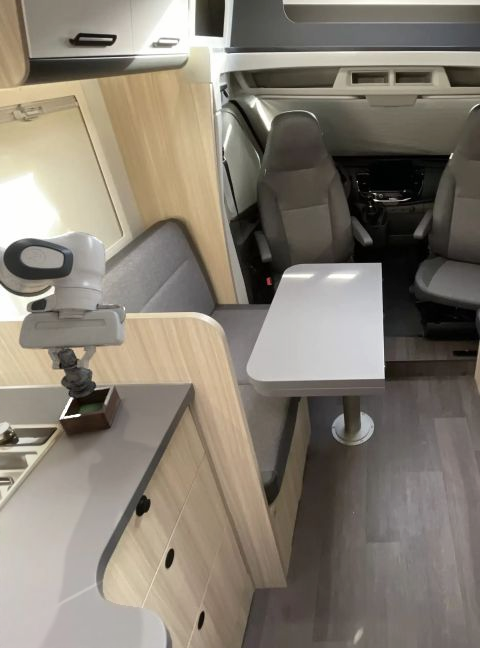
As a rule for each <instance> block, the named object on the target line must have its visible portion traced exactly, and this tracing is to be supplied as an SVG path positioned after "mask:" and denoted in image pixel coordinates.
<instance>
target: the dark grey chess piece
mask: <svg viewBox="0 0 480 648" xmlns="http://www.w3.org/2000/svg"><path fill="white" fill-rule="evenodd" d="M61 349H62V350H61V351H59V352H58V355H57V356H58V358H59V360H60V362H61V366H60V367H61V370H63V372H64V373H65V375H64V376H63V377H62V378H61V380H60V384H61V386H62V387H64V388H65V389H67V390H68V397H69V398H70V397H71V398H81V397H84V396H86V395H88V394H90V393H91V392H93V391H94V389H95V388H97V384H96V382H95V381H93V371H92V369H90V368H81V369H80V368H77V360H81V359H80V358H78V357H77V355H76V353H75V351H74V349H73V348H65V347H62V348H61Z"/></svg>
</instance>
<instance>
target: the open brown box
mask: <svg viewBox="0 0 480 648" xmlns="http://www.w3.org/2000/svg"><path fill="white" fill-rule="evenodd" d="M121 400H122V399H121V396H120V394H119V393H118V390H117V387H116V385H115V384H114V385H108V386H101V387H96V388H95V389H94V391H93V392H91V393H90V394H88V395H86V396H84V397H81V398H71V397H70V396H69V398H68V401H67V403H66V405H65V406H64V409H63V411H62V413H61V414H60V417H59V419H58V421H59V423H60V425H61V427H62V428H63V430H64V433H65V434H66V435H67V436H71V435H76V434H82V433H87V432H94V431H99V430H105V429H110V428H112V425H113V422H114V420H115V418H116V414H117V411H118V409H119V406H120V404H121Z"/></svg>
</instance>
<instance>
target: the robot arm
mask: <svg viewBox="0 0 480 648" xmlns="http://www.w3.org/2000/svg"><path fill="white" fill-rule="evenodd" d="M106 258H107V257H106V247H105V244H103V242H102V241H101V239H99V238H97V237H96V236H94V235H92V234H89V233H86V232H81V231H69V232H66V233H64V234H61V235H57V236H53V237H52V236H51V237H45V238H43V237H42V238H35V237H34V238H33V237H27V238H21V239H17V240H16V241H13V242H12V243H11V244H9V245H8V246H7V247H6V246H4V245H2V244H0V286H1V287H2V288H3V289H5V290H6V291H7V292H8V293H10V294H12V295H14V296H18V297H23V298H33V297H38V296H41V295H43V294H45V293H48V291H49V290H51V289H52V287H53V288H54V289H53V290H54V291H53V293H52V294H49V295H46V296H44V297H41V298H39V299H35V300H32V301H29V302H28V303H27V304H26V312H28V314H27V315H26V316H25V317H24V318H23V320H22V322H21V326H20V332H19V337H18V343H19V346H20V347H21V348H22V349H25V350H33V351H34V350H35V351H37V350H47V354H48V356H49V358H50V360H51V361H52V366H51V369H52V370H54V371H58V370H59V371H61V370H62V369H61V367H60V366H61V362H60V360H59V358H58V356H57V355H58V352H59V351H61V350H62V349H61V348H62V347H65V348H70V349H78V348H83V352H84V354H83V355H82V357H81V359H80V360H77V368H80V369H81V368H87V369H89V367H90V366H89V365H90V361H91V359H93V357H94V355H95V354H96V352H97V348H100V347H101V348H102V347H103V348H104V347H120V346H122V345H123V344H124V343H125V342H126V324H125V323H126V322H125V320H126V318H127V310H126V308H125V307H124V306H123V305H121V304H120V303H111V304H109V303H103V293H104V291H103V287H102V285H103V280H104V278H105V275H106V274H105V273H106V263H107V262H106V261H107V259H106Z"/></svg>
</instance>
